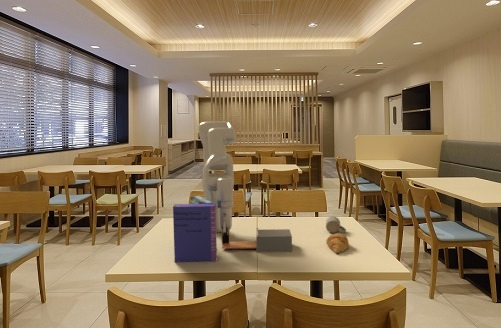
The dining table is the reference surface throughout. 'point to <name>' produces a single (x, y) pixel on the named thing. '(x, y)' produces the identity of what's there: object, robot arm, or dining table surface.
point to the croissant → (337, 242)
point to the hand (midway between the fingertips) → (225, 242)
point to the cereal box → (195, 232)
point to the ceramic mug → (334, 225)
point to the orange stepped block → (239, 244)
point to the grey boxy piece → (274, 240)
